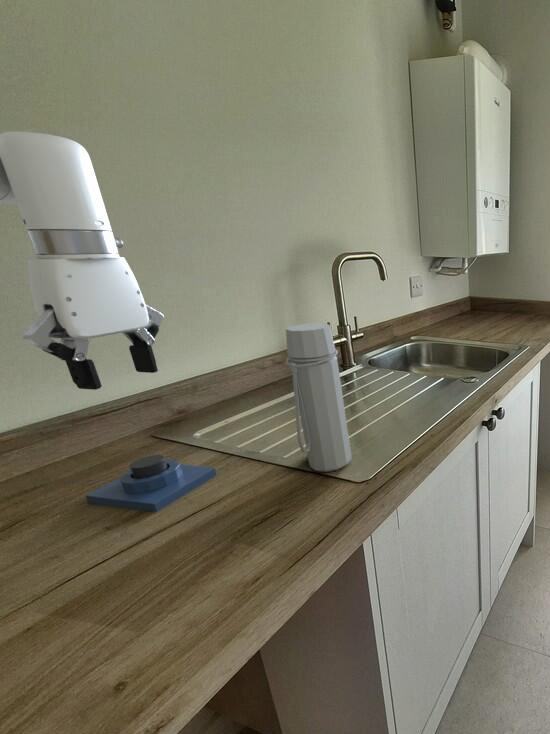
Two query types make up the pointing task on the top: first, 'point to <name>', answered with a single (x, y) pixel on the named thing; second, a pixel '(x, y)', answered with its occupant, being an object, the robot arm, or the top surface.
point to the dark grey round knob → (148, 466)
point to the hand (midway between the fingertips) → (120, 378)
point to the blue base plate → (152, 488)
